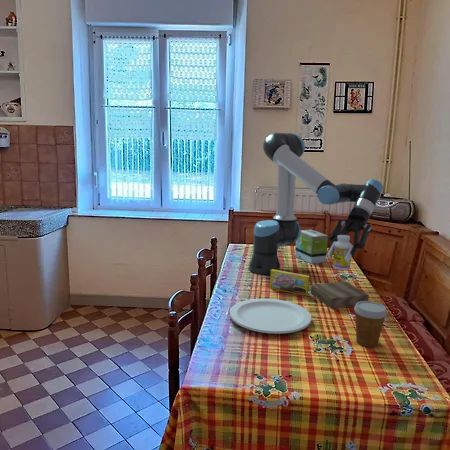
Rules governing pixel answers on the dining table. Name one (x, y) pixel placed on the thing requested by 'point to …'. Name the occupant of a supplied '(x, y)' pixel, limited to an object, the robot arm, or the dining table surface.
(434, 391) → the dining table surface
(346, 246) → the supplement bottle
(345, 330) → the dining table surface
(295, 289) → the candy box
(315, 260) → the tea box
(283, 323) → the plate
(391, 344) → the dining table surface
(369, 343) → the disposable coffee cup
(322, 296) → the walnut stand
